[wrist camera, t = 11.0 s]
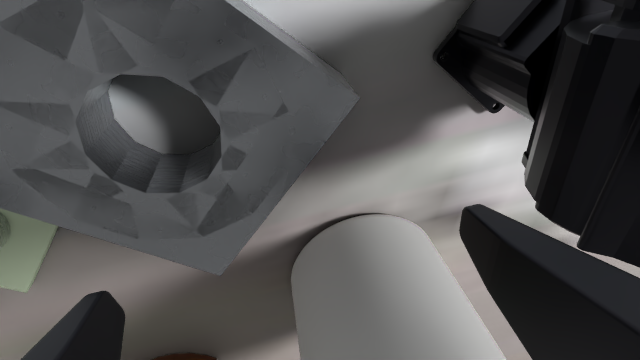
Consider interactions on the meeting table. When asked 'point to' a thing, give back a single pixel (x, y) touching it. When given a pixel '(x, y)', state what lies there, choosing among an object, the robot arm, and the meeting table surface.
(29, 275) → the mat
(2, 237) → the silver upright cylinder
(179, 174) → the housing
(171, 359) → the food container
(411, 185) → the meeting table surface
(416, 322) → the cylinder vase
